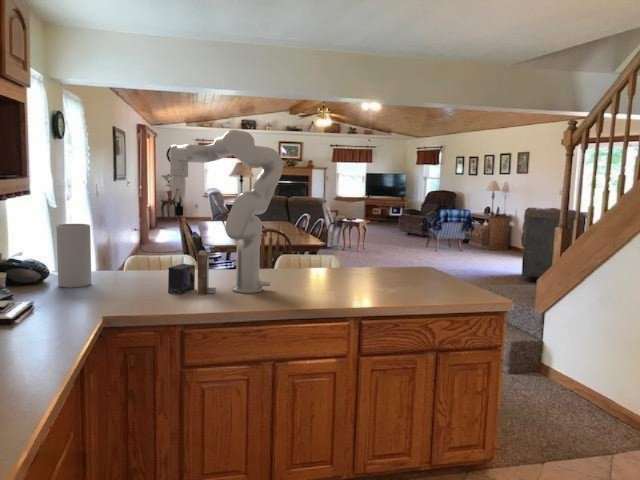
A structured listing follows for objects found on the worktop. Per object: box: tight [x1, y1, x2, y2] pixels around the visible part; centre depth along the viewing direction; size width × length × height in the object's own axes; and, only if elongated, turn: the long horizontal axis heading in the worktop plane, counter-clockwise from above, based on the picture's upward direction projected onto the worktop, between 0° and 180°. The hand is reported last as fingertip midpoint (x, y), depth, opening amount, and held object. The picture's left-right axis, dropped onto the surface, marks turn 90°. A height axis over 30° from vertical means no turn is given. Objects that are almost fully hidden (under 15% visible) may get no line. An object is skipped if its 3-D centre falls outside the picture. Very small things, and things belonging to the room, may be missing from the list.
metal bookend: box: [205, 254, 217, 295], centre depth 207 cm, size 4×11×14 cm, turn 9°
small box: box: [167, 263, 196, 295], centre depth 206 cm, size 11×6×10 cm, turn 163°
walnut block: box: [197, 249, 208, 296], centre depth 207 cm, size 3×12×16 cm, turn 9°
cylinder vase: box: [55, 223, 92, 289], centre depth 209 cm, size 12×12×25 cm
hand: (179, 215), depth 224 cm, fingers closed
